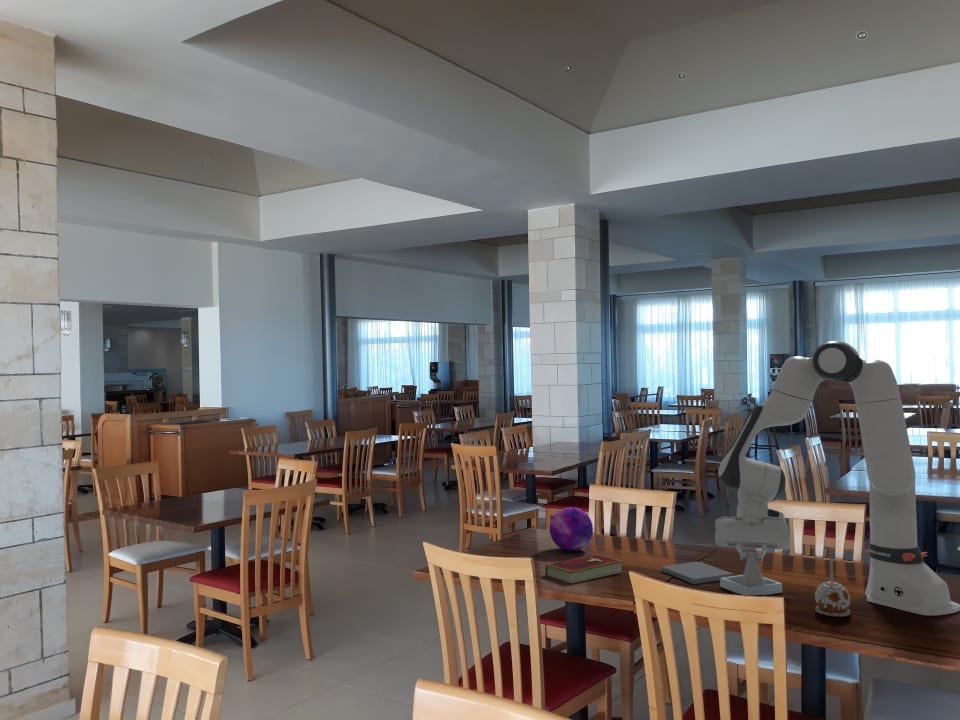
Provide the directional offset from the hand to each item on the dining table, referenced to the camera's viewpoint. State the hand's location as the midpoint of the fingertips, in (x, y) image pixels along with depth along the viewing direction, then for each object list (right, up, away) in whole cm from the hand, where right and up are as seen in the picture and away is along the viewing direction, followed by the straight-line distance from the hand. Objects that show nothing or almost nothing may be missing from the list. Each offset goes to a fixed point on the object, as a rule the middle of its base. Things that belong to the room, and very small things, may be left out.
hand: (751, 559), depth 210 cm
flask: (+1, -8, 0) cm, 8 cm away
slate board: (-11, -9, +17) cm, 22 cm away
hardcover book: (-44, -10, +20) cm, 50 cm away
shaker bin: (0, -9, +1) cm, 9 cm away
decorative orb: (-44, -11, +51) cm, 68 cm away
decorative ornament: (+13, -8, -21) cm, 26 cm away
